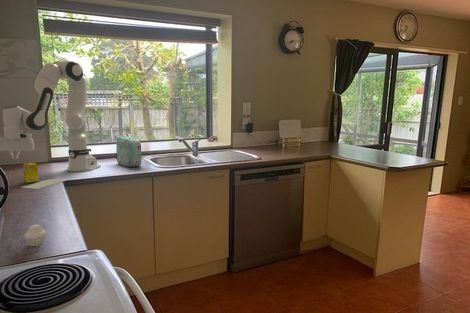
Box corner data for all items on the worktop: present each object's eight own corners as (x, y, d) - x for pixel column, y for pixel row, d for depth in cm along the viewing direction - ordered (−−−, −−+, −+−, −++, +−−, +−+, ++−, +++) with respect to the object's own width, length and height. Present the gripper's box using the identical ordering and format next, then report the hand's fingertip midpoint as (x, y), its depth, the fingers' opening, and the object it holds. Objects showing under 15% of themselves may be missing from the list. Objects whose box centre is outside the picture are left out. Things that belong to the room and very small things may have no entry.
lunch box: (114, 163, 251) (112, 135, 248) (127, 162, 258) (126, 134, 254) (129, 169, 232) (128, 138, 228) (143, 167, 239) (142, 137, 235)
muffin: (21, 245, 109) (19, 225, 108) (41, 239, 114) (39, 219, 113) (31, 250, 106) (29, 229, 104) (50, 243, 111) (48, 223, 109)
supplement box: (24, 182, 192) (22, 163, 190) (35, 180, 196) (34, 162, 194) (26, 184, 187) (25, 165, 186) (38, 182, 192) (37, 163, 190)
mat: (50, 179, 199) (50, 178, 199) (65, 180, 196) (65, 180, 196) (20, 187, 180) (20, 187, 180) (36, 189, 177) (36, 188, 177)
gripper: (-11, 134, 184) (-9, 159, 186) (31, 135, 189) (32, 159, 191) (-6, 133, 190) (-4, 157, 192) (34, 134, 195) (36, 157, 197)
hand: (15, 158), depth 192 cm, fingers closed
